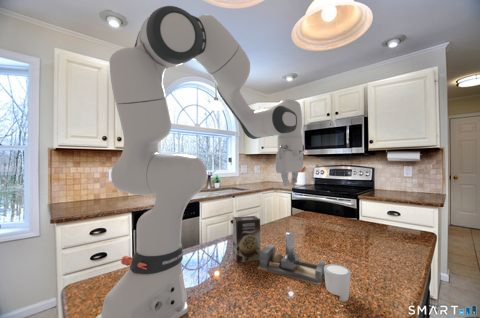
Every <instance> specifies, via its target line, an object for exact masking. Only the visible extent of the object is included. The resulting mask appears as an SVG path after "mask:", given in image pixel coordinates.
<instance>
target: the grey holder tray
mask: <svg viewBox="0 0 480 318" xmlns="http://www.w3.org/2000/svg"><path fill="white" fill-rule="evenodd" d="M274 254H276V245H274V244H269V243H268V244H267V245H266V246H265V247H264V248H262V250H260V260H259V266H257V268H256V269H257V270H259V271H265V272H268V273H271V274H275V275H280V276H283V277H287V278H291V279H295V280H299V281H301V282H302V281H303V282H307V283H310V284H314V285H317V286H320V285H321V283H322V280H323V278H324V276H325V274H324V266H326V261H324V260H319V262H318V263H313V262H307V261H303V260H299V266H298V268H297V269H296V271H295V273H294V272H290V271H286V270H282V269H281V266H280V263H276V262H272V257H273V255H274Z"/></svg>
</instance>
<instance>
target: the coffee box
mask: <svg viewBox="0 0 480 318" xmlns="http://www.w3.org/2000/svg"><path fill="white" fill-rule="evenodd" d="M260 251H261V218H259V217H257V216H255V215H245V216H233V217H232V257H233V260H234V261H235V263H246V262H252V261H260Z"/></svg>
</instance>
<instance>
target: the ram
mask: <svg viewBox="0 0 480 318" xmlns="http://www.w3.org/2000/svg"><path fill="white" fill-rule="evenodd" d="M295 238H296V235H295V232H293V231H286V232H285V237H284V239H285V255H284V256H283V259H282V260H281V269H282V270H286V271H290V272H294V273H295V271H296V269H297V268H298V266H299V261H300V254H297V253H296V239H295Z"/></svg>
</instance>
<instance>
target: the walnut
mask: <svg viewBox="0 0 480 318" xmlns="http://www.w3.org/2000/svg"><path fill="white" fill-rule="evenodd" d="M283 257H284V256H283V254H282V253H280V252H279V253H276V252H275V254H274V255H273V257H272V262H276V263H280V266H281V260H282V259H283Z"/></svg>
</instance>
